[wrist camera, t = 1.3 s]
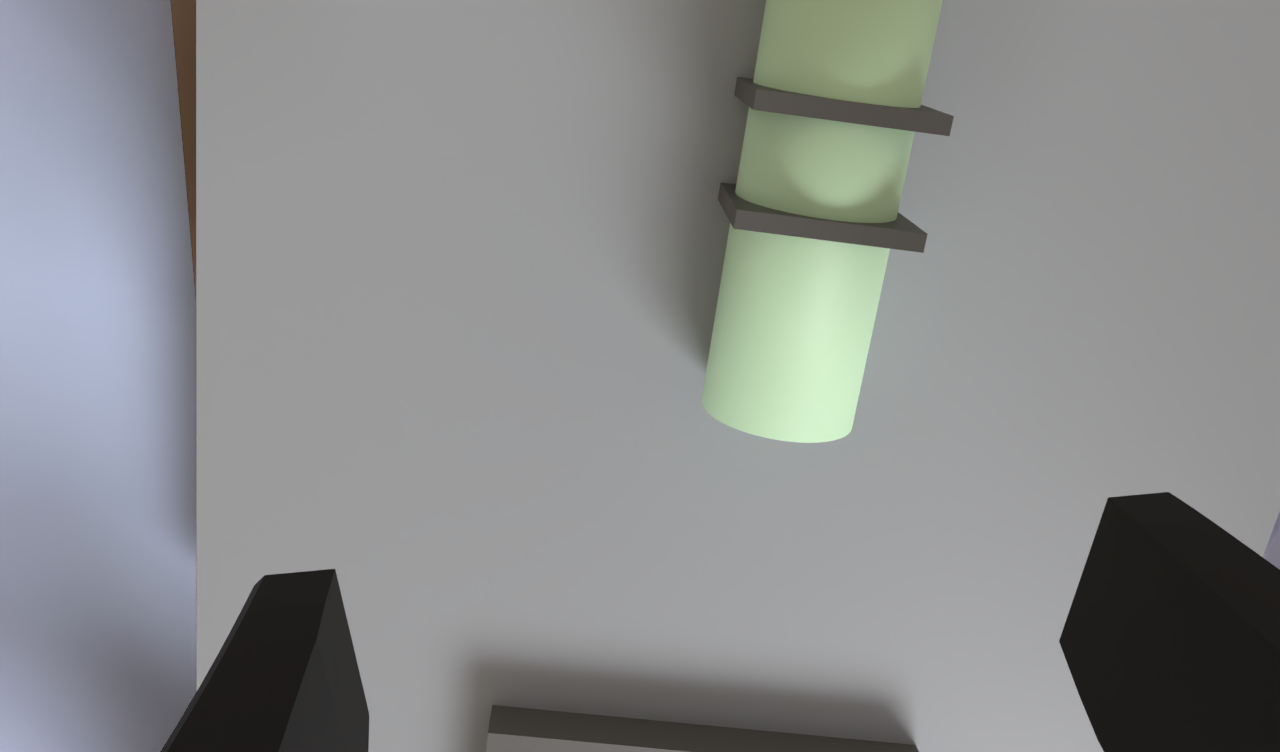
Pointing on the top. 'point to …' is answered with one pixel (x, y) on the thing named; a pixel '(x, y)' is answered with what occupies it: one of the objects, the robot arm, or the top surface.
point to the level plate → (575, 340)
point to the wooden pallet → (187, 99)
